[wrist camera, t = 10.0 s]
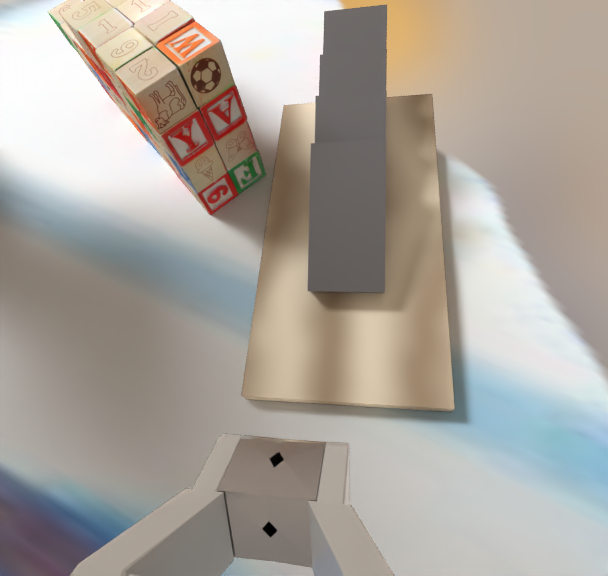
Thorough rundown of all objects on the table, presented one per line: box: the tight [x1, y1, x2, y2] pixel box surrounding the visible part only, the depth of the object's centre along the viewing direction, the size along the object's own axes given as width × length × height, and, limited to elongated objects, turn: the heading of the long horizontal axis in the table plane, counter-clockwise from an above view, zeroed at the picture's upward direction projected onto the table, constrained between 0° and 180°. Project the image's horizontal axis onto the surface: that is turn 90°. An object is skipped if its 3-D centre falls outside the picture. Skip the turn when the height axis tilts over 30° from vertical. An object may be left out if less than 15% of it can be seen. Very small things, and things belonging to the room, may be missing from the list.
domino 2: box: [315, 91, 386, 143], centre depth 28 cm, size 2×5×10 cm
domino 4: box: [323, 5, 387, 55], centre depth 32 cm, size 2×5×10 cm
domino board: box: [241, 94, 455, 412], centre depth 30 cm, size 13×26×1 cm, turn 175°
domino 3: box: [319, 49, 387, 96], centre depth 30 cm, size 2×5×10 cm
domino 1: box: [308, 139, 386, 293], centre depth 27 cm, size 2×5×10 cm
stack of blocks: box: [48, 0, 266, 215], centre depth 33 cm, size 21×6×12 cm, turn 38°
